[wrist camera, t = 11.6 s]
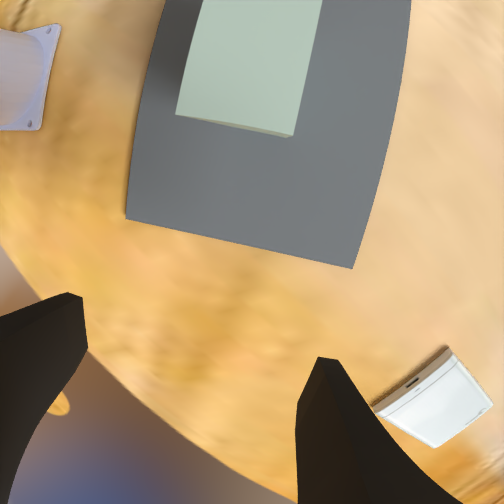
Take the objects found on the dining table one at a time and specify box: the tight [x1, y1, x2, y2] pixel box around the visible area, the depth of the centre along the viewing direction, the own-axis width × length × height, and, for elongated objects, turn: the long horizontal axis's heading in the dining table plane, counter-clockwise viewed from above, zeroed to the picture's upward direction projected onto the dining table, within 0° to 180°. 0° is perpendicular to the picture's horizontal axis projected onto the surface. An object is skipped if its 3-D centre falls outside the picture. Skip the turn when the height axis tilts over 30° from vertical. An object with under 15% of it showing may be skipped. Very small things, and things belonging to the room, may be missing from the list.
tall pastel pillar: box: [175, 0, 322, 138], centre depth 10 cm, size 3×6×9 cm, turn 168°
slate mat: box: [126, 0, 411, 269], centre depth 15 cm, size 14×18×1 cm
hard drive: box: [373, 348, 493, 448], centre depth 22 cm, size 2×8×12 cm
